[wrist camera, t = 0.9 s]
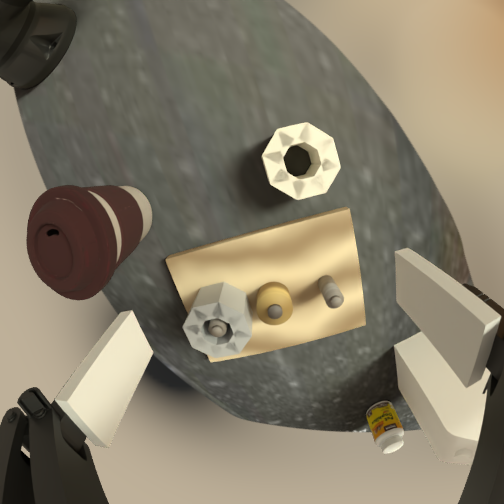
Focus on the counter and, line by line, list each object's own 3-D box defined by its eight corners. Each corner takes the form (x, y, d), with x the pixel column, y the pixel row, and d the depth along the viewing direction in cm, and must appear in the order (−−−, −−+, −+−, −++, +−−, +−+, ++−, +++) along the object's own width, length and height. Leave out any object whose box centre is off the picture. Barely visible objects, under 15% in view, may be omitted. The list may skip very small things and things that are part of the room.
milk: (448, 361, 39) (512, 455, 14) (398, 388, 40) (449, 499, 16) (450, 314, 35) (540, 417, 11) (393, 345, 37) (467, 477, 12)
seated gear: (185, 291, 33) (175, 311, 28) (240, 277, 32) (237, 297, 27) (205, 336, 35) (199, 360, 30) (257, 325, 34) (257, 350, 29)
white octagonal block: (256, 139, 28) (255, 134, 24) (316, 125, 28) (327, 118, 23) (273, 198, 30) (276, 205, 26) (332, 183, 30) (345, 187, 25)
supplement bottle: (388, 395, 41) (406, 435, 31) (393, 407, 42) (409, 445, 32) (361, 408, 42) (375, 450, 32) (368, 420, 43) (381, 459, 34)
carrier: (168, 255, 33) (150, 276, 27) (345, 206, 30) (366, 218, 24) (212, 355, 38) (205, 387, 31) (362, 319, 35) (378, 346, 29)
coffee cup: (146, 266, 33) (86, 330, 19) (87, 230, 32) (11, 271, 18) (177, 197, 31) (115, 227, 16) (111, 162, 29) (27, 170, 15)
